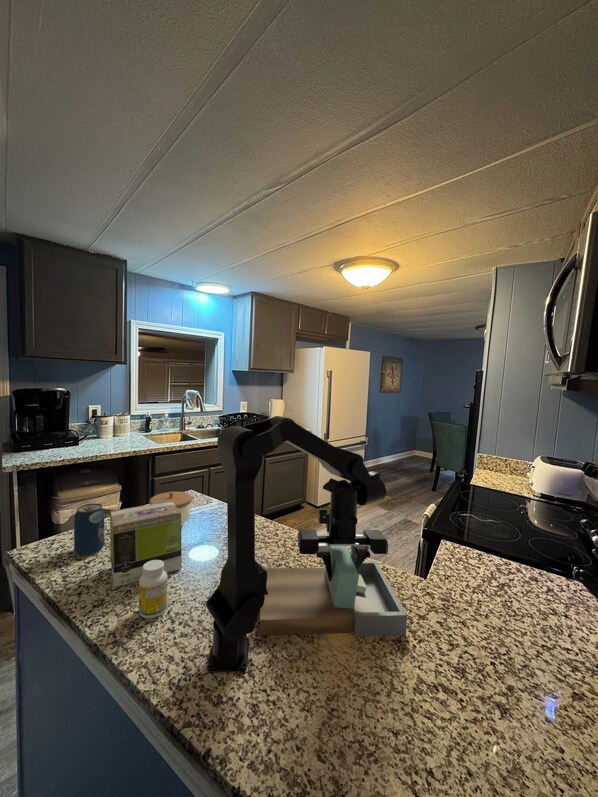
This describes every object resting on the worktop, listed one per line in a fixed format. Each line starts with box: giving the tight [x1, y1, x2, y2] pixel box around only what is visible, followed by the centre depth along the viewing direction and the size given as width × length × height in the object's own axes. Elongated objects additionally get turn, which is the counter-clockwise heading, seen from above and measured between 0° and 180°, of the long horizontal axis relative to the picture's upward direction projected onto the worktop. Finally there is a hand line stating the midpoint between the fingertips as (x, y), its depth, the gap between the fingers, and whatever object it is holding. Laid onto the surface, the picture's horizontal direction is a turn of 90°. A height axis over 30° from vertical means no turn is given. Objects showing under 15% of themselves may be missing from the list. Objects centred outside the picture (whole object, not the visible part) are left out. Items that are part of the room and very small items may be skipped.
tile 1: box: [357, 574, 367, 594], centre depth 77 cm, size 5×5×2 cm
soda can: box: [73, 503, 105, 557], centre depth 90 cm, size 7×7×12 cm
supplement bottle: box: [138, 560, 168, 619], centre depth 68 cm, size 5×5×10 cm
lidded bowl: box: [149, 491, 193, 528], centre depth 106 cm, size 13×13×11 cm
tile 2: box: [352, 596, 377, 615], centre depth 68 cm, size 5×5×2 cm
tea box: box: [109, 501, 183, 588], centre depth 82 cm, size 15×10×15 cm, turn 123°
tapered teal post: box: [324, 546, 359, 609], centre depth 72 cm, size 12×4×7 cm, turn 4°
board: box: [259, 567, 354, 636], centre depth 72 cm, size 17×18×3 cm
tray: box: [353, 560, 408, 638], centre depth 73 cm, size 19×10×4 cm, turn 4°
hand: (340, 579), depth 72 cm, fingers closed on tapered teal post, 4 cm apart
